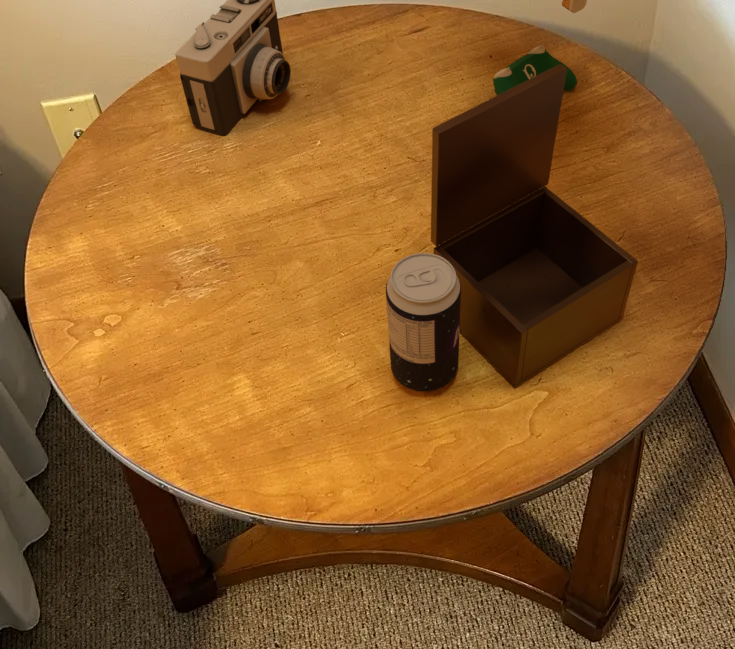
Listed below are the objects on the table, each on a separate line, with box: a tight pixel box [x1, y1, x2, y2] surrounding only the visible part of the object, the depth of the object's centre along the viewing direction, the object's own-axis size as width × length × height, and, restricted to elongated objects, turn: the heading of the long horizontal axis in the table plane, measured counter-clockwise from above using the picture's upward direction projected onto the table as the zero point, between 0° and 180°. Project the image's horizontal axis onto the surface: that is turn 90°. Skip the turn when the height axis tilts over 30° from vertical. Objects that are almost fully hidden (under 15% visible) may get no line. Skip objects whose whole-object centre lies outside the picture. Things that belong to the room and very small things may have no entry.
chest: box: [433, 186, 639, 389], centre depth 74 cm, size 11×12×8 cm
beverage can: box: [385, 252, 461, 393], centre depth 69 cm, size 6×6×12 cm
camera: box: [174, 0, 292, 137], centre depth 94 cm, size 14×8×10 cm, turn 154°
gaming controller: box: [492, 44, 578, 96], centre depth 94 cm, size 9×4×6 cm
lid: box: [430, 64, 567, 247], centre depth 69 cm, size 12×12×1 cm
